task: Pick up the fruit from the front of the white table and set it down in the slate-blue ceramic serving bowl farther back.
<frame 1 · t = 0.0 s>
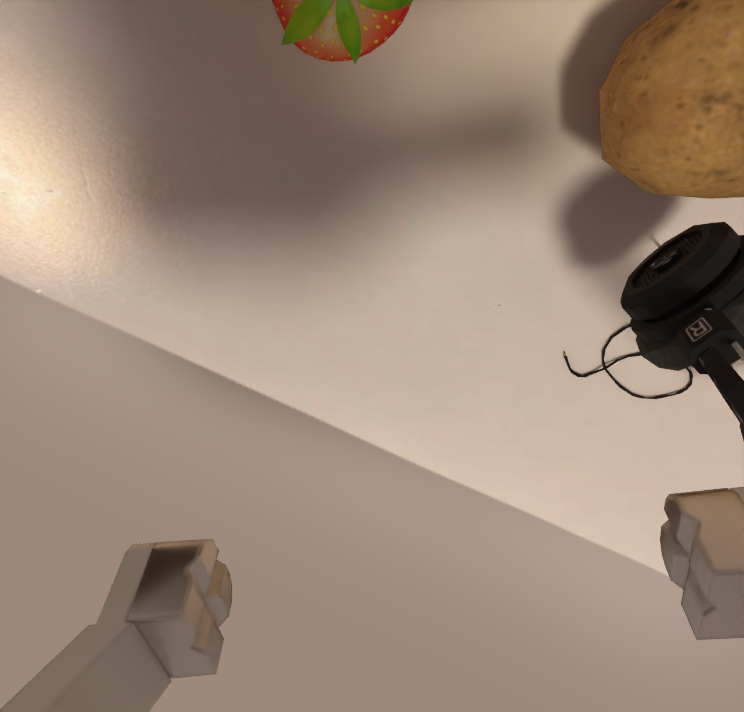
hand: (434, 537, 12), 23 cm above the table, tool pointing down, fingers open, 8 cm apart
headphones: (644, 300, 35), on the table
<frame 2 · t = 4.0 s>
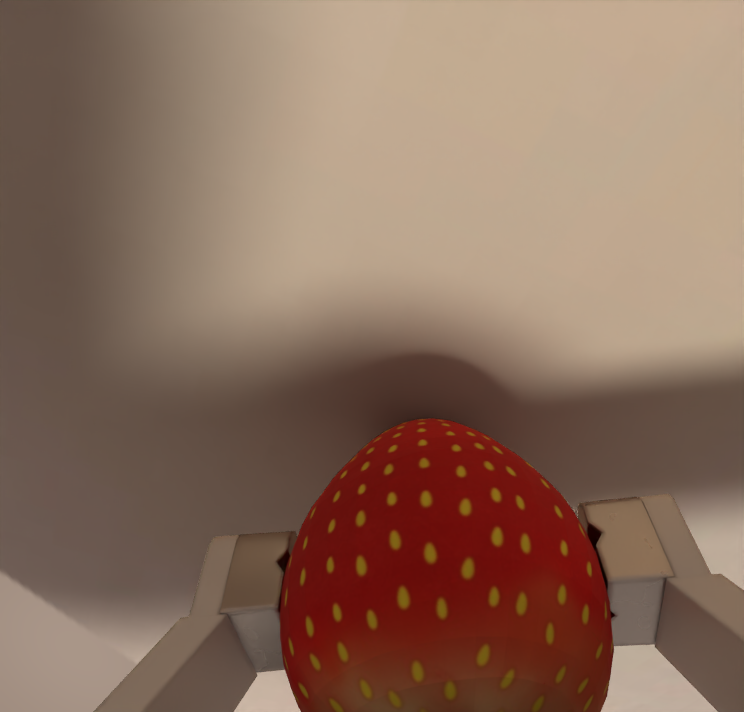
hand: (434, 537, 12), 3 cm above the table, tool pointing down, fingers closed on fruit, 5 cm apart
fruit: (430, 428, 14), on the table, touching gripper
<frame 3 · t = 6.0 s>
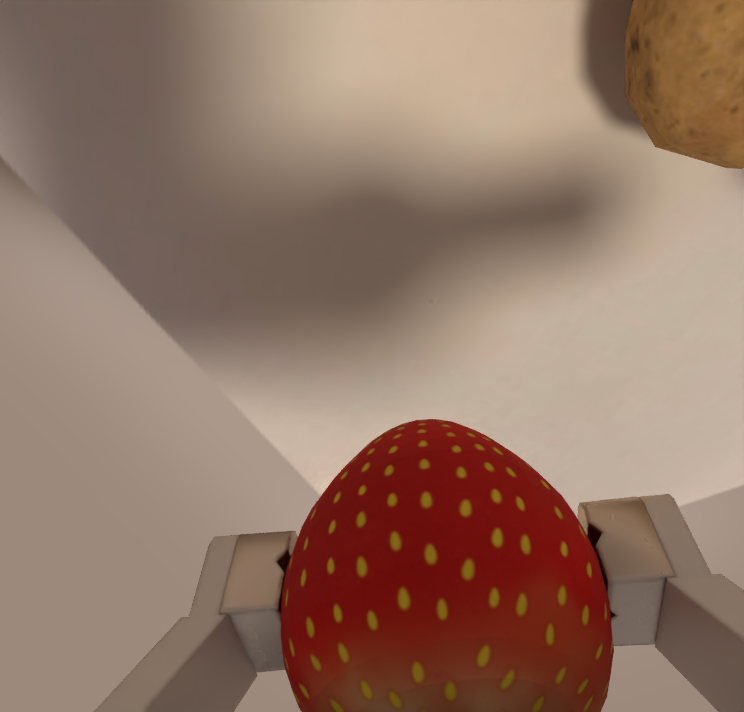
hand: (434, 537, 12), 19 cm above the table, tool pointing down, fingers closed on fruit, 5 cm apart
fruit: (431, 429, 14), point 16 cm above the table, touching gripper
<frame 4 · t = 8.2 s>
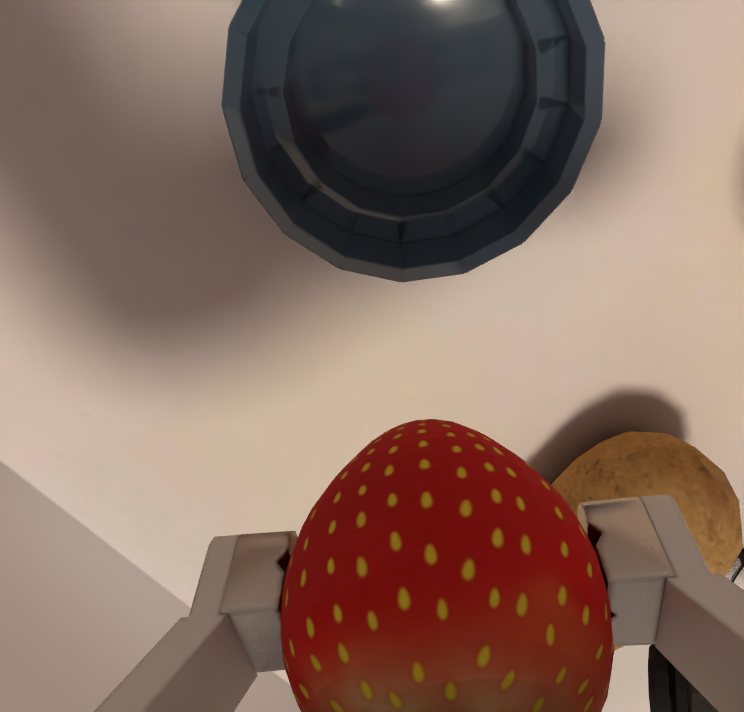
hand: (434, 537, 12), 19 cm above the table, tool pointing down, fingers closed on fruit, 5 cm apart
fruit: (431, 429, 14), point 16 cm above the table, touching gripper
potato: (586, 483, 38), on the table
bowl: (407, 80, 25), on the table
headphones: (722, 564, 42), on the table
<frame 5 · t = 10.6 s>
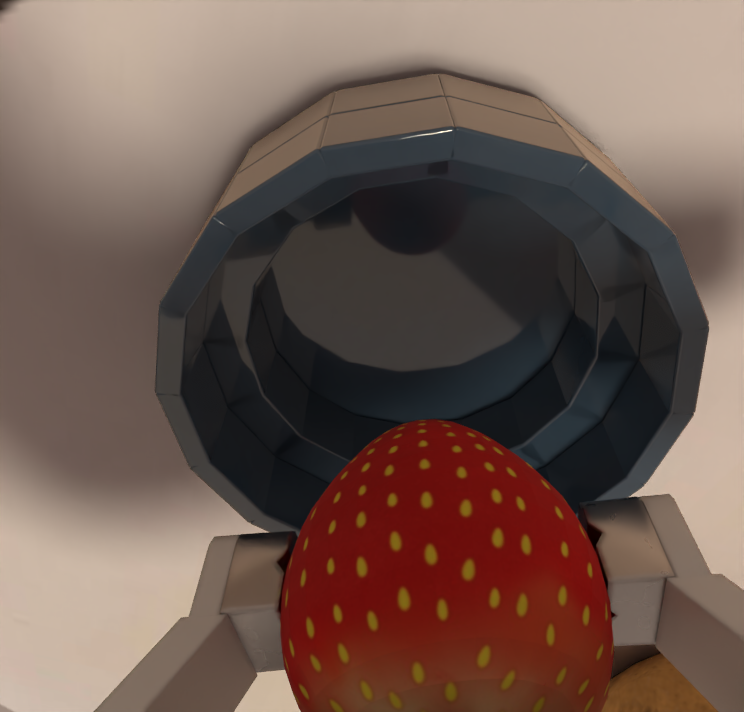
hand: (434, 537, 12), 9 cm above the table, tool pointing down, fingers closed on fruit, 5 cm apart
fruit: (431, 429, 14), point 6 cm above the table, touching gripper
potato: (624, 688, 32), on the table
bowl: (417, 295, 19), on the table
when the fingers open (3 cm above the table, at t = 12.6 s): fruit stays where it is, resting on bowl.
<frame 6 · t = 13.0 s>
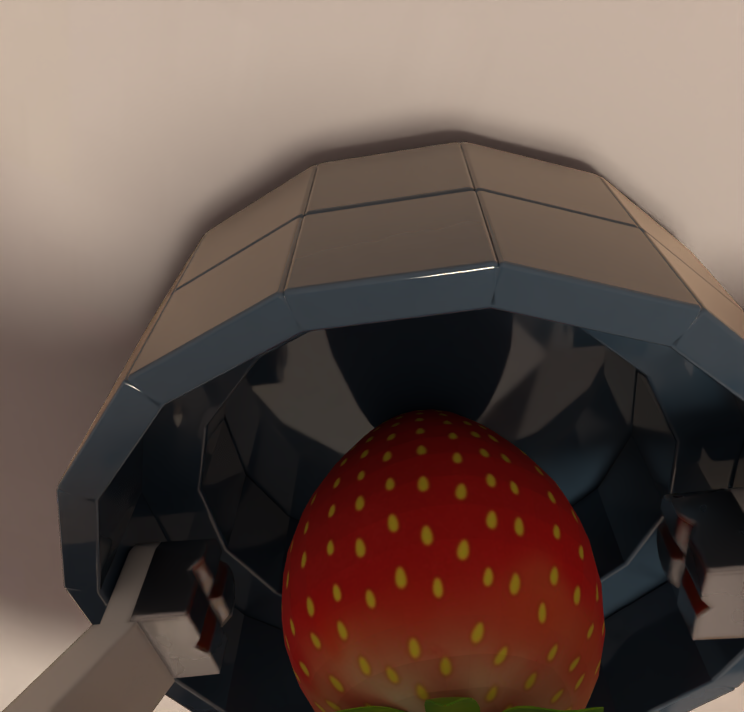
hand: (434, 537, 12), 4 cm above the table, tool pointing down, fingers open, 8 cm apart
fruit: (429, 420, 14), resting on bowl
bowl: (426, 407, 14), on the table
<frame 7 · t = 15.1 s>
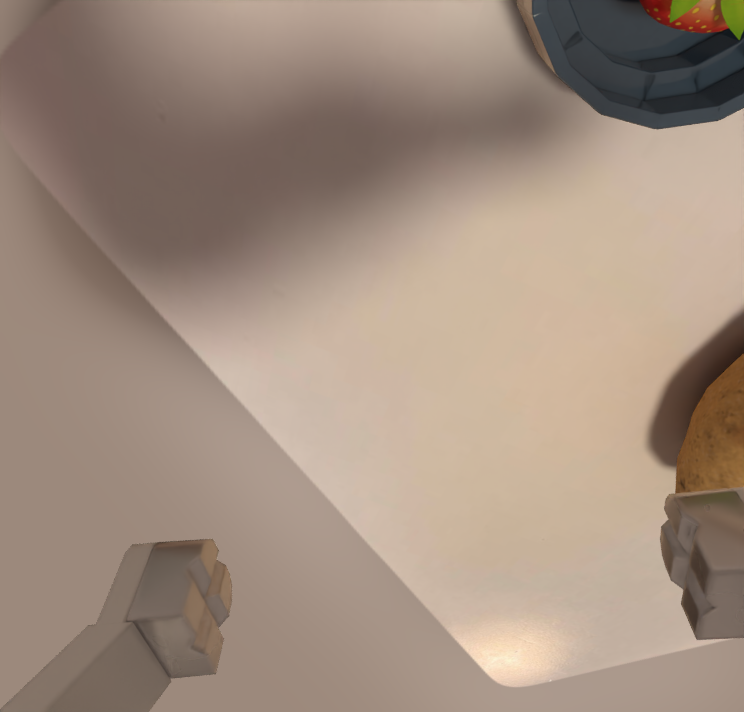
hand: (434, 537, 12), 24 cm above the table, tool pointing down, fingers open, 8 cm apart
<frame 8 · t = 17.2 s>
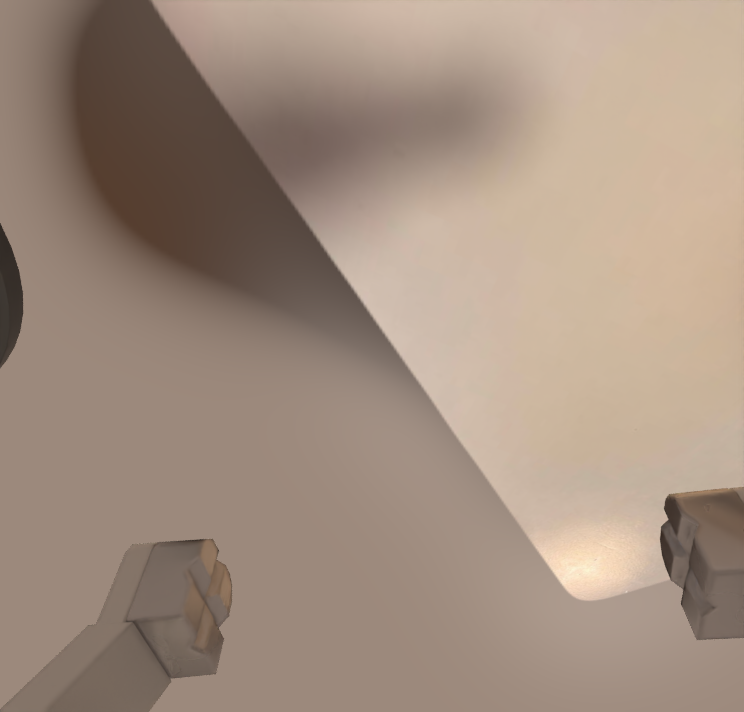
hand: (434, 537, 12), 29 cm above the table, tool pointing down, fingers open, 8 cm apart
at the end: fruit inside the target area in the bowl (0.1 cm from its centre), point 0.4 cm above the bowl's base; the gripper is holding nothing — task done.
